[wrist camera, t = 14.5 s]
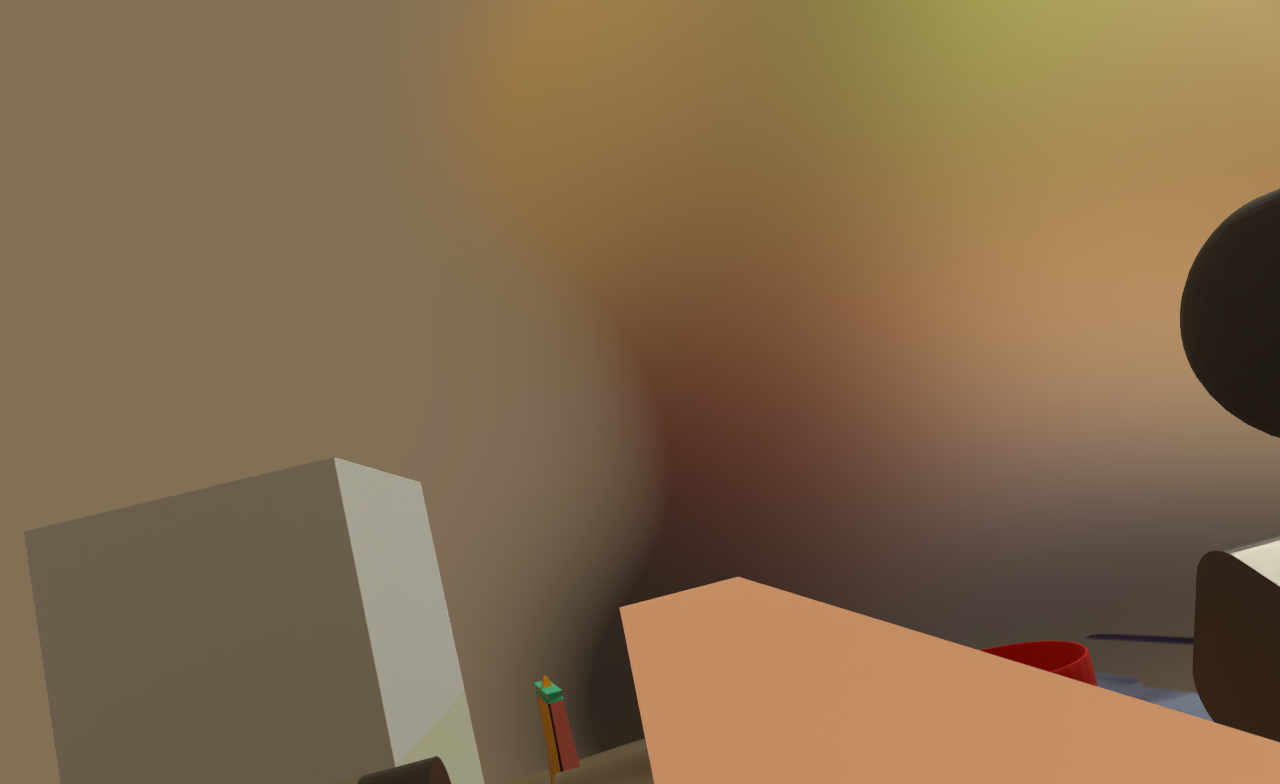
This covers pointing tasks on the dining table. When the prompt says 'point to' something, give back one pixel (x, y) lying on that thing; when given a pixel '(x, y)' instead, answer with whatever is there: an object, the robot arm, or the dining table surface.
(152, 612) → the tall tower
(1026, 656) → the ceramic cup
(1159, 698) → the dining table surface
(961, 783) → the lintel brick
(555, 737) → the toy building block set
